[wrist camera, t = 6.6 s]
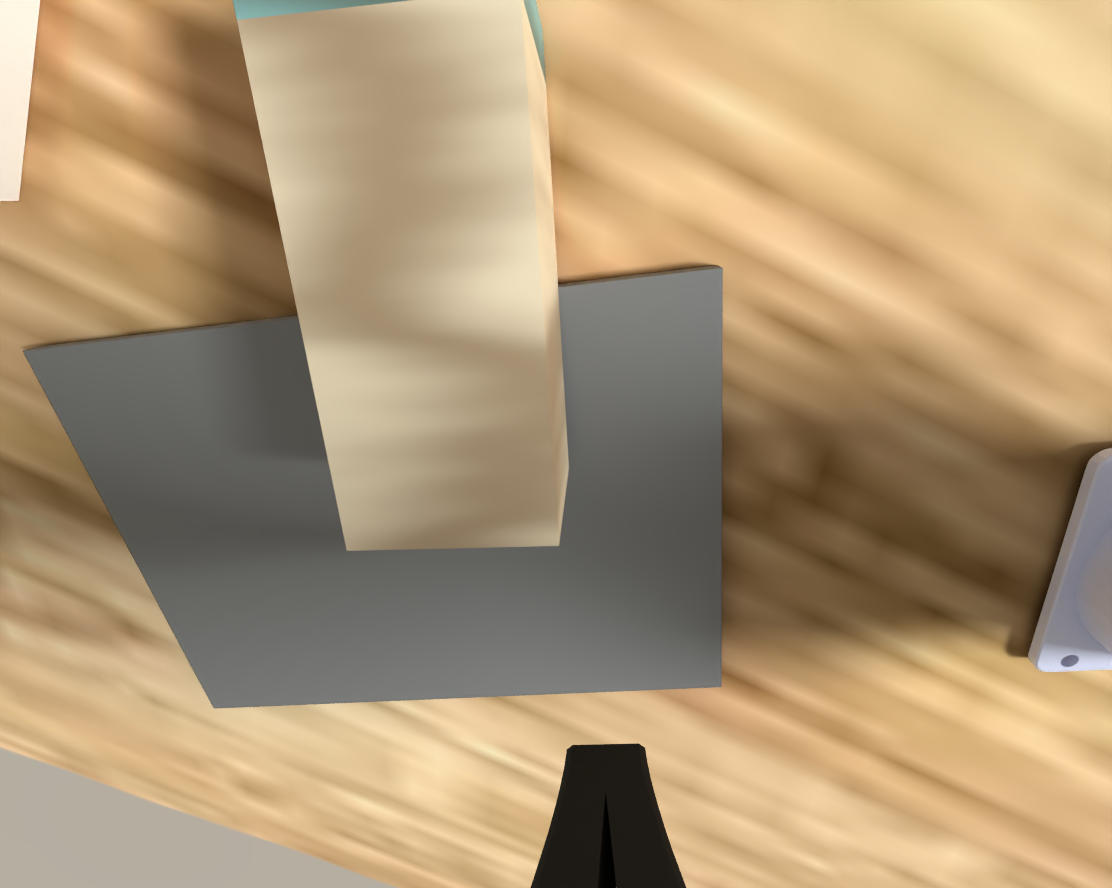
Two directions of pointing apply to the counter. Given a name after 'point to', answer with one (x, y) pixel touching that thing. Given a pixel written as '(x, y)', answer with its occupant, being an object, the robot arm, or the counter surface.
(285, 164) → the tall block
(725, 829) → the counter surface
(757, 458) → the counter surface
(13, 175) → the bracket
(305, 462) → the mat
